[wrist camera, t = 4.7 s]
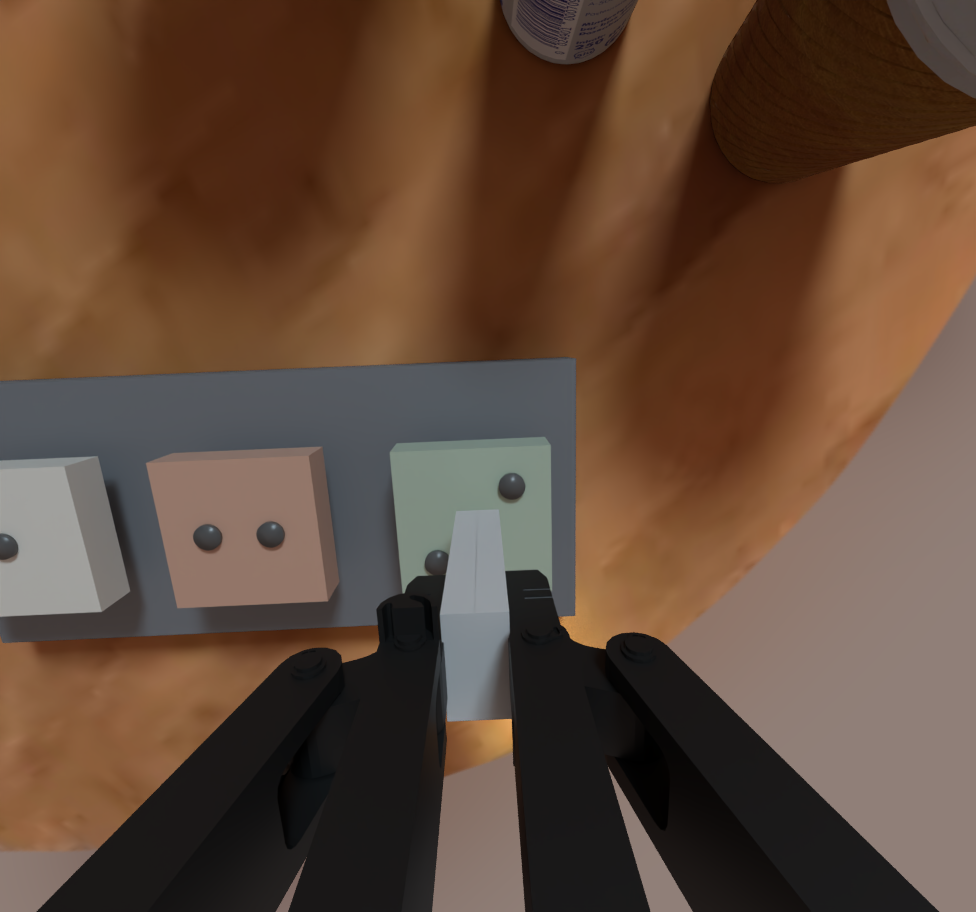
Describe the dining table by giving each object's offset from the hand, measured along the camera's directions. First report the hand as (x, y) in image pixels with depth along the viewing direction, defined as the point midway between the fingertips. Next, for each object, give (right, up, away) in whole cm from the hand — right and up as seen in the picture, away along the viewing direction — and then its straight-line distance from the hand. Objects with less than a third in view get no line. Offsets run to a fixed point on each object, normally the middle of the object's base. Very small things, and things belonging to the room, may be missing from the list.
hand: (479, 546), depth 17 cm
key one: (-18, +1, +5) cm, 19 cm away
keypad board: (-9, +1, +6) cm, 11 cm away
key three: (0, +1, +5) cm, 5 cm away
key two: (-9, +1, +5) cm, 10 cm away
